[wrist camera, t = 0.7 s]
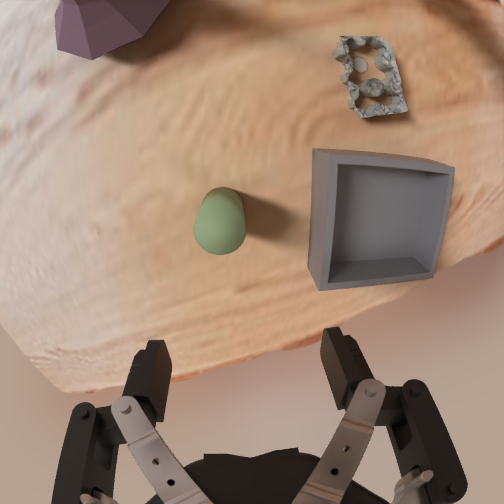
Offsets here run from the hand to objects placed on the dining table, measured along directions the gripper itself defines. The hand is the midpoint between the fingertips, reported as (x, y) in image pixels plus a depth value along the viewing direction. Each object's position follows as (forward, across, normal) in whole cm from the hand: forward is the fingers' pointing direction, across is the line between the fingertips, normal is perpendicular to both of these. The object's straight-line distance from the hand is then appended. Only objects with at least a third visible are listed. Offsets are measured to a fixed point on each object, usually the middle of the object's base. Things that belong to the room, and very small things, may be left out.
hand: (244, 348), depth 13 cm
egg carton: (+23, -17, -17) cm, 33 cm away
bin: (+23, -18, +1) cm, 29 cm away
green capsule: (+23, +2, 0) cm, 23 cm away
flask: (+23, +13, -29) cm, 39 cm away
